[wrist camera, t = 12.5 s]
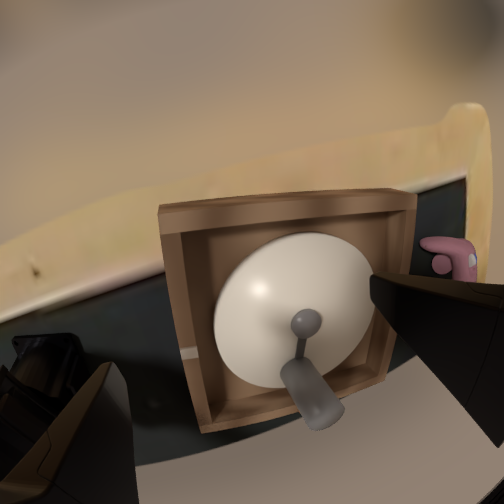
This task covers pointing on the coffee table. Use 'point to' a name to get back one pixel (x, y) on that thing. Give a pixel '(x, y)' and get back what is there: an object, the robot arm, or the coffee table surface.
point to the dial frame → (243, 243)
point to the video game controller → (452, 257)
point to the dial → (295, 317)
